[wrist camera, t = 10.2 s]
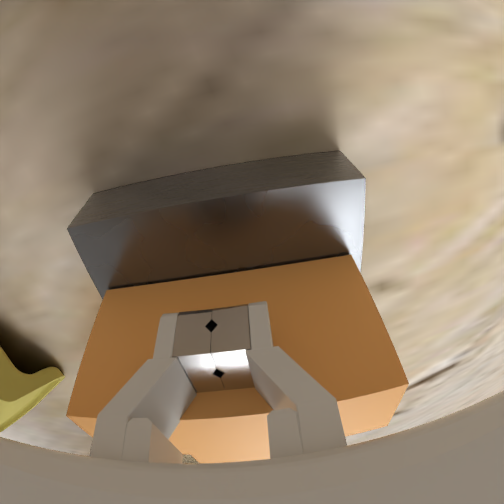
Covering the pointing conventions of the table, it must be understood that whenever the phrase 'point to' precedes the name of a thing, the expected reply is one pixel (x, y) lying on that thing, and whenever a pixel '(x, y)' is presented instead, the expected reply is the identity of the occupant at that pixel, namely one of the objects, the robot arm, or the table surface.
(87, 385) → the clip
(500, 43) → the table surface
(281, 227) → the heatsink
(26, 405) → the plastic component
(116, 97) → the table surface
